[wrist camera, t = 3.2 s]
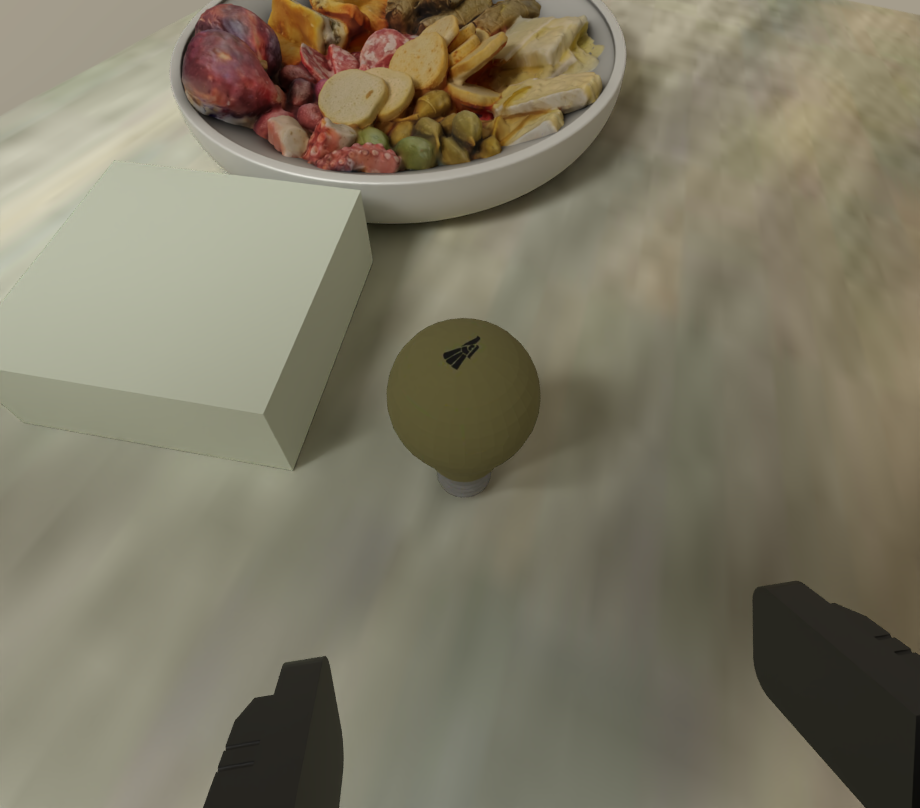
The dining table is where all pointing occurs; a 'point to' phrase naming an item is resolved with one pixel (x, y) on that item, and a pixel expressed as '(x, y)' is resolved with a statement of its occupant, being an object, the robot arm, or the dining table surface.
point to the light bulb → (463, 400)
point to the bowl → (400, 95)
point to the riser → (187, 312)
